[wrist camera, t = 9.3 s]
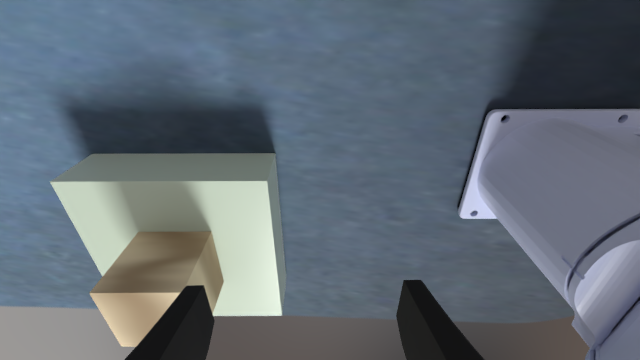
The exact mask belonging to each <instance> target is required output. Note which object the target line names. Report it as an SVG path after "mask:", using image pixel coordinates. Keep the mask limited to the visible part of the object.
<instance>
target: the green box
mask: <svg viewBox="0 0 640 360" xmlns="http://www.w3.org/2000/svg"><path fill="white" fill-rule="evenodd" d="M50 183H51V184H52V186H53V188H54V190H55V192H56V193H57V195H58V197H59V199H60V201H61V202H62V204H63V206H64V208H65V210H66V212H67V213H68V215H69V217H70V219H71V221H72V222H73V224H74V226H75V228H76V230H77V231H78V233H79V235H80V237H81V239H82V240H83V242H84V244H85V246H86V248H87V249H88V251H89V253H90V255H91V257H92V258H93V260H94V262H95V264H96V266H97V267H98V269H99V271H100V273H101V275H102V276H104V274H105V273H106V272H107V271H108V269H109V268H110V267H111V266H112V264H113V263H114V262H115V261H116V259H117V258H118V257H119V255H120V254H121V253H122V252H123V250H124V249H125V248H126V247H127V245H128V244H129V243H130V242H131V240H132V239H133V238H134V237H135V235H136V234H137V233H138V232H203V231H212V235H213V240H214V244H215V248H216V252H217V256H218V260H219V264H220V268H221V272H222V276H223V280H224V283H223V286H222V288H221V291H220V294H219V297H218V300H217V303H216V306H215V309H214V312H213V316H282V311H283V303H284V295H285V286H286V269H285V258H284V247H283V235H282V224H281V212H280V201H279V189H278V178H277V167H276V155H275V153H191V154H91V155H90V156H88V157H87V158H85V159H84V160H82V161H81V162H79V163H78V164H76V165H75V166H73V167H71V168H70V169H68V170H67V171H65V172H64V173H62V174H61V175H59V176H58V177H56V178H55V179H53V180H52V181H50Z"/></svg>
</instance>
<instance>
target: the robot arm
mask: <svg viewBox="0 0 640 360" xmlns="http://www.w3.org/2000/svg"><path fill="white" fill-rule="evenodd" d="M504 115H506V118H505V120H503V121H501V118H502V117H503V116H504ZM621 116H622V117H621ZM620 117H621V118H620ZM619 118H620V119H619ZM618 119H619V120H618ZM472 211H474V212H473V213H471V212H472ZM458 214H459V215H460V217H461V218H464V219H498V220H499V221H500V222H501V223H502V225H503V226H504V227H505V228H506V229H507V231H508V232H509V233H510V234H511V235H512V237H513V238H514V239H515V240H516V241H517V243H518V244H519V245H520V246H521V247H522V248H523V250H524V251H525V252H526V253H527V254H528V256H529V257H530V258H531V259H532V260H533V262H534V263H535V264H536V265H537V266H538V268H539V269H540V270H541V271H542V272H543V274H544V275H545V276H546V277H547V278H548V280H549V281H550V282H551V283H552V284H553V286H554V287H555V288H556V289H557V290H558V292H559V293H560V294H561V295H562V296H563V298H564V299H565V300H566V301H567V302H568V304H569V305H570V306H571V307H572V308H573V310H574V312H575V318H574V320H573V322H572V326H573V327H574V328H575V330H576V331H577V332H578V333H579V335H580V336H581V337H582V338H583V340H584V341H585V342H586V344H587V345H588V346H589V347H590V349H589V351H588V353H587V355H586V357H585V360H640V109H495V110H492V111H490V112H489V113H488V114H487V116H486V118H485V122H484V125H483V128H482V132H481V135H480V139H479V142H478V145H477V149H476V152H475V155H474V159H473V162H472V166H471V169H470V172H469V176H468V179H467V182H466V186H465V189H464V193H463V196H462V199H461V203H460V206H459V210H458ZM396 316H397V321H398V327H399V332H400V337H401V341H402V346H403V349H404V353H405V356H406V359H407V360H484V359H483V357H482V356H481V355H480V354H479V353H478V352H477V351H476V350H475V349H474V347H473V346H472V345H471V344H470V342H469V341H468V340H467V339H466V338H465V336H464V335H463V334H462V333H461V331H460V330H459V329H458V328H457V327H456V325H455V324H454V323H453V322H452V320H451V319H450V318H449V317H448V315H447V314H446V313H445V311H444V310H443V309H442V307H441V306H440V305H439V304H438V302H437V301H436V300H435V298H434V297H433V295H432V294H431V293H430V291H429V290H428V289H427V287H426V286H425V284H424V283H423V282H422V281H421V280H404V281H403V286H402V291H401V296H400V301H399V305H398V310H397V315H396ZM213 325H214V317H213V314H212V311H211V307H210V304H209V301H208V297H207V294H206V291H205V287H204V285H192V286H186V287H185V288H184V289H183V290H182V291H181V293H180V294H179V295H178V296H177V298H176V299H175V300H174V301H173V303H172V304H171V305H170V307H169V308H168V309H167V310H166V312H165V313H164V314H163V315H162V316H161V318H160V319H159V320H158V321H157V323H156V324H155V325H154V326H153V327H152V329H151V330H150V331H149V332H148V333H147V334H146V336H145V337H144V338H143V339H142V340H141V342H140V343H139V344H138V345H137V346H136V347H135V349H134V350H133V351H132V352H131V353H130V354H129V355H128V357H127V358H126V359H125V360H205V359H206V356H207V353H208V349H209V345H210V339H211V335H212V330H213Z"/></svg>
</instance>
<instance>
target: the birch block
mask: <svg viewBox="0 0 640 360" xmlns="http://www.w3.org/2000/svg"><path fill="white" fill-rule="evenodd" d="M223 283H224V280H223V276H222V272H221V268H220V264H219V260H218V256H217V252H216V248H215V244H214V240H213V235H212V231H203V232H138V233H137V234H136V235H135V237H134V238H133V239H132V240H131V242H130V243H129V244H128V245H127V247H126V248H125V249H124V250H123V252H122V253H121V254H120V255H119V257H118V258H117V259H116V261H115V262H114V263H113V264H112V266H111V267H110V268H109V269H108V271H107V272H106V273H105V274H104V276H103V277H102V278H101V279H100V281H99V282H98V283H97V284H96V286H95V287H94V288H93V289H92V291H91V292H90V295H91V297H92V298H93V300H94V302H95V303H96V305H97V307H98V308H99V310H100V312H101V313H102V315H103V317H104V318H105V320H106V322H107V323H108V325H109V327H110V328H111V330H112V332H113V333H114V335H115V337H116V338H117V340H118V342H119V343H120V345H121V346H122V347H123V346H124V347H128V346H129V347H131V346H132V347H136V346H137V345H138V344H139V343H140V342H141V340H142V339H143V338H144V337H145V336H146V334H147V333H148V332H149V331H150V330H151V329H152V327H153V326H154V325H155V324H156V323H157V321H158V320H159V319H160V318H161V316H162V315H163V314H164V313H165V312H166V310H167V309H168V308H169V307H170V305H171V304H172V303H173V301H174V300H175V299H176V298H177V296H178V295H179V294H180V293H181V291H182V290H183V289H184V288H185V287H186V286H192V285H204V287H205V291H206V294H207V297H208V301H209V304H210V307H211V311H212V314H213V312H214V309H215V306H216V303H217V300H218V297H219V294H220V291H221V288H222V286H223Z"/></svg>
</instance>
